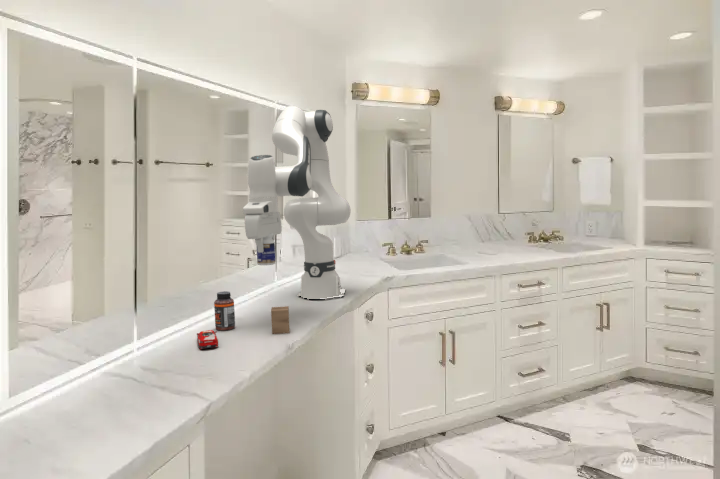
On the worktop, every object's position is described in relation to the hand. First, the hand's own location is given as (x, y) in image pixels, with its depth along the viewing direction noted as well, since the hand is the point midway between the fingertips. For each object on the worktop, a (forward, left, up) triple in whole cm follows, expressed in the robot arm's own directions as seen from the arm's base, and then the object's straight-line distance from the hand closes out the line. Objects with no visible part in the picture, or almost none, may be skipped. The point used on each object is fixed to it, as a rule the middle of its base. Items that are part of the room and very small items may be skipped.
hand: (265, 250), depth 169 cm
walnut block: (+10, +8, -23) cm, 26 cm away
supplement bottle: (+9, -11, -23) cm, 27 cm away
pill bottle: (0, 0, -4) cm, 4 cm away
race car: (+25, -8, -24) cm, 35 cm away
